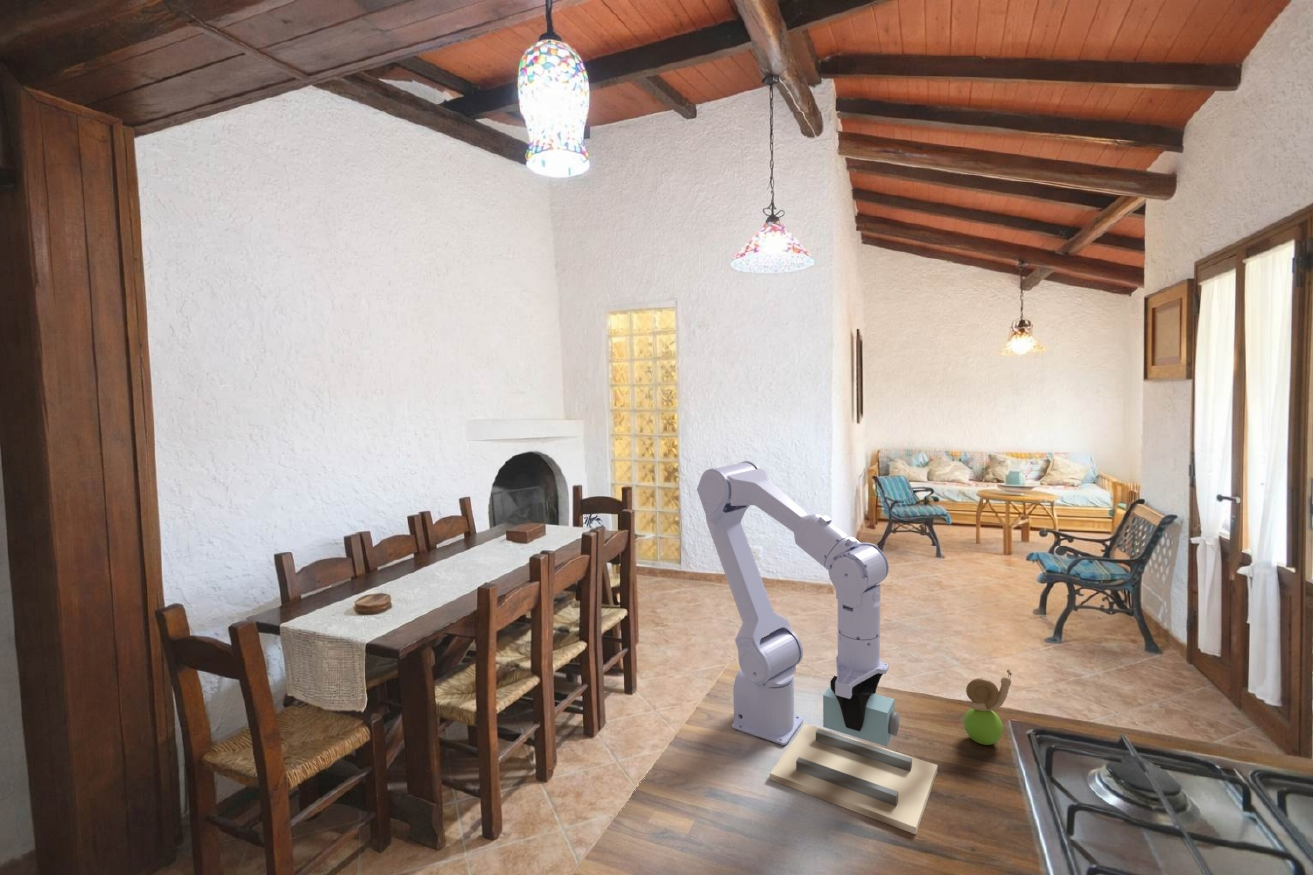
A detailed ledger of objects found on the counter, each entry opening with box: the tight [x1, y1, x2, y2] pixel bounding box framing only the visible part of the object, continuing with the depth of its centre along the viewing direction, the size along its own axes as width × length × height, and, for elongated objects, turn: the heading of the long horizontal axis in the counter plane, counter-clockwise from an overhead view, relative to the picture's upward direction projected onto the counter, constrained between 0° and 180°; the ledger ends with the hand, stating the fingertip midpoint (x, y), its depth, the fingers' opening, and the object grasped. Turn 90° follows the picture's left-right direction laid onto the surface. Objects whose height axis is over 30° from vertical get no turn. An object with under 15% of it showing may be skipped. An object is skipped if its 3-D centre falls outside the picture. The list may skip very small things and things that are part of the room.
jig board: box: [769, 723, 939, 835], centre depth 91 cm, size 20×14×2 cm
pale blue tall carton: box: [822, 685, 900, 747], centre depth 90 cm, size 10×4×5 cm, turn 56°
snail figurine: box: [963, 669, 1013, 746], centre depth 96 cm, size 5×6×12 cm
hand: (858, 719), depth 90 cm, fingers closed on pale blue tall carton, 4 cm apart
